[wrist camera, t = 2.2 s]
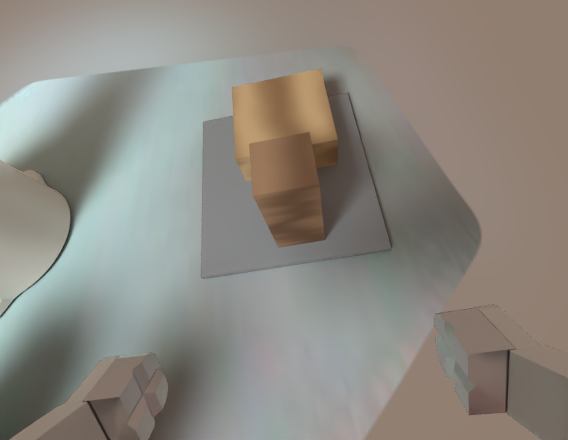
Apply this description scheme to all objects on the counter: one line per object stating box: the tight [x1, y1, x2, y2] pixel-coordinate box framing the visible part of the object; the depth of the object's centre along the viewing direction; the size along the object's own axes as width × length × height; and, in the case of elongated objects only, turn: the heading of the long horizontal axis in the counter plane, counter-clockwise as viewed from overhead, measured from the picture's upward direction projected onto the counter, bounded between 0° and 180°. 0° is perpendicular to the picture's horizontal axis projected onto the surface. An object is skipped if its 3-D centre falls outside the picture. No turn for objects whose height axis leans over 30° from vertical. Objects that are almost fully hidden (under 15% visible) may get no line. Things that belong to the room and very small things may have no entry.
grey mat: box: [201, 93, 391, 279], centre depth 33 cm, size 18×20×1 cm
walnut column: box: [249, 132, 325, 248], centre depth 26 cm, size 4×4×10 cm
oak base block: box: [232, 69, 338, 181], centre depth 33 cm, size 10×10×4 cm
